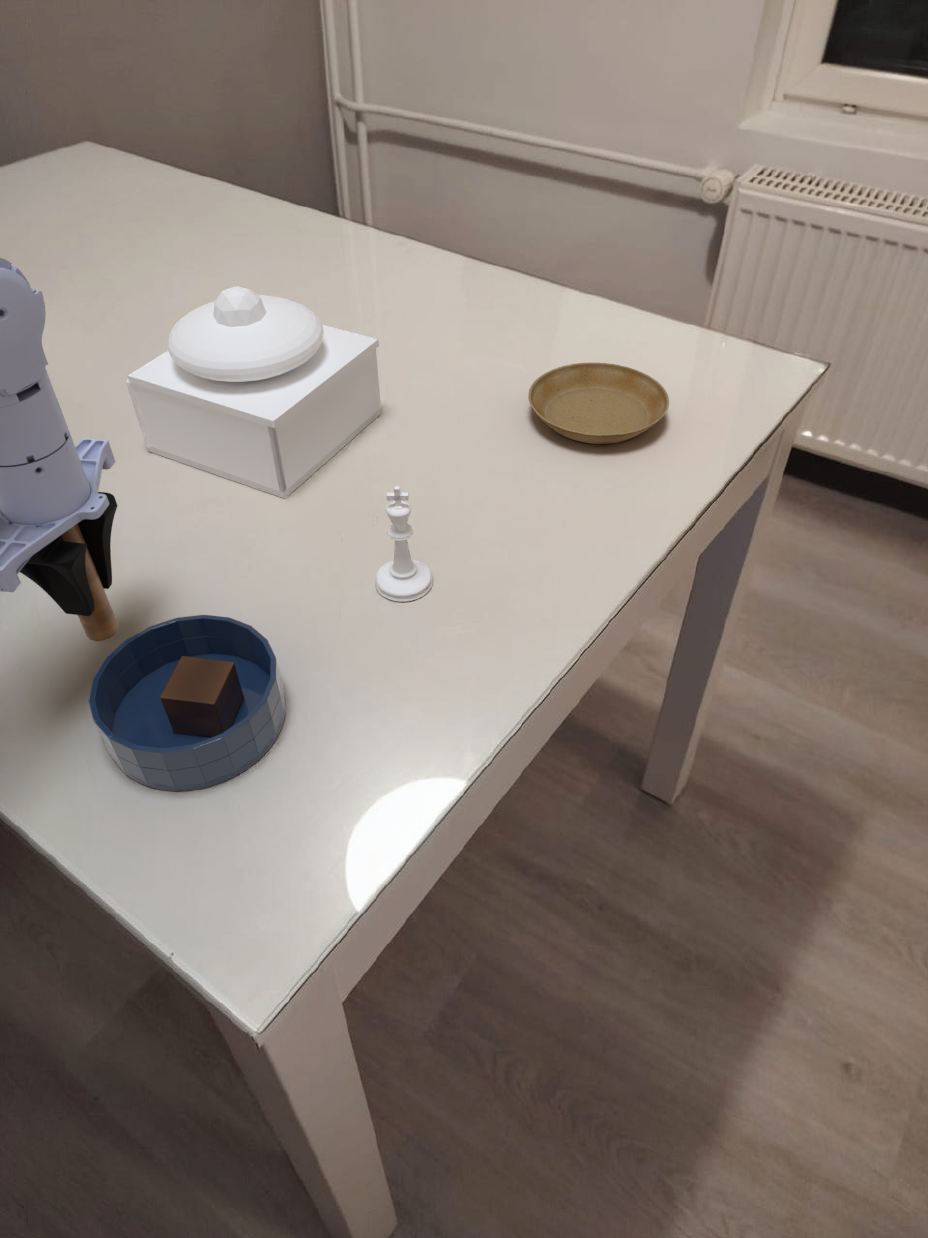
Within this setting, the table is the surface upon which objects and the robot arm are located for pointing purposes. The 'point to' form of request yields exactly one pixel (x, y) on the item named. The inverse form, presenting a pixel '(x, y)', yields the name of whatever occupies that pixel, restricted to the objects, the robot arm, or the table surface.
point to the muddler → (94, 597)
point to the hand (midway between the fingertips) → (88, 598)
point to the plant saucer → (598, 402)
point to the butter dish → (256, 391)
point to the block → (202, 696)
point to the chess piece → (402, 557)
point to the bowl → (141, 723)
